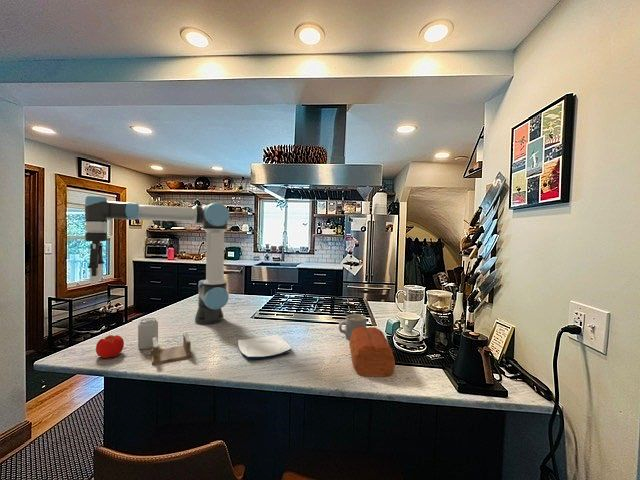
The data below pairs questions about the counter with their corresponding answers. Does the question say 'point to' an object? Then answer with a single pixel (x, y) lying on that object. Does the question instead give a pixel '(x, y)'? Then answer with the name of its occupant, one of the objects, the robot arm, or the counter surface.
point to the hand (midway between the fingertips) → (96, 281)
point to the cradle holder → (171, 351)
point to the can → (147, 333)
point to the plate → (263, 347)
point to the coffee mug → (352, 324)
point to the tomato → (109, 346)
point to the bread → (371, 352)
